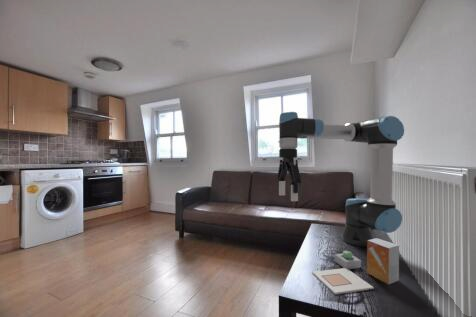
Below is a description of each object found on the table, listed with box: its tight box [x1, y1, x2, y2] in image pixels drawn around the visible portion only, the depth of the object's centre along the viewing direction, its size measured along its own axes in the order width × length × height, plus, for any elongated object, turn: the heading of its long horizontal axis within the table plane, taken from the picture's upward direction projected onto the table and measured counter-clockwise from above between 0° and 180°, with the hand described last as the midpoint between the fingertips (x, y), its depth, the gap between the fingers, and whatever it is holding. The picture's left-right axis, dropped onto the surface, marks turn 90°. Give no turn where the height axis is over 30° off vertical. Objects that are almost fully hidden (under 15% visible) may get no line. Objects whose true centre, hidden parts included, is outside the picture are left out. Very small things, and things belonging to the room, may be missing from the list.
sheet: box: [312, 267, 375, 295], centre depth 76 cm, size 15×13×1 cm
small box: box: [366, 237, 400, 285], centre depth 79 cm, size 8×6×13 cm
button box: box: [333, 252, 362, 270], centre depth 88 cm, size 7×7×3 cm
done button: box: [342, 250, 353, 260], centre depth 88 cm, size 3×3×2 cm
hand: (287, 198), depth 90 cm, fingers open, 13 cm apart
